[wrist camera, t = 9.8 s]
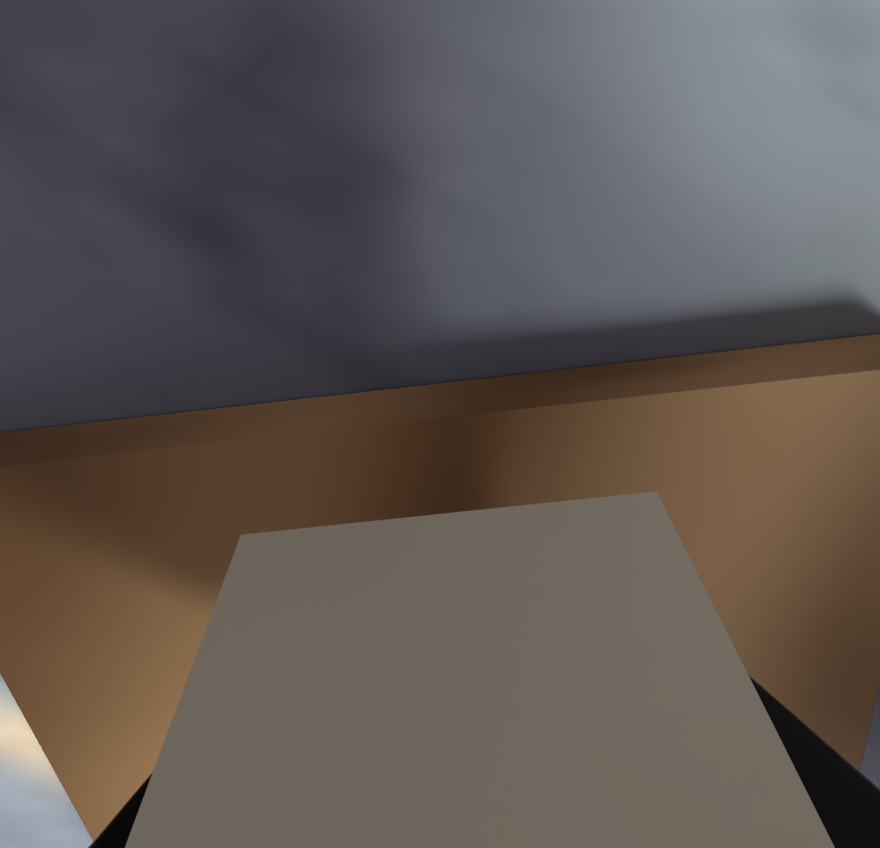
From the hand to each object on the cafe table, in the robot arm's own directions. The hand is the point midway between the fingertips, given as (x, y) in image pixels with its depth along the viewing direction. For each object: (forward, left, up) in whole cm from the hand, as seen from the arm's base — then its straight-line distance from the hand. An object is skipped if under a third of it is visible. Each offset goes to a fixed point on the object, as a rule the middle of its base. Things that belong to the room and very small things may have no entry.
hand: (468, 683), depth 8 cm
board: (0, +5, -3) cm, 6 cm away
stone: (0, 0, 0) cm, 0 cm away
